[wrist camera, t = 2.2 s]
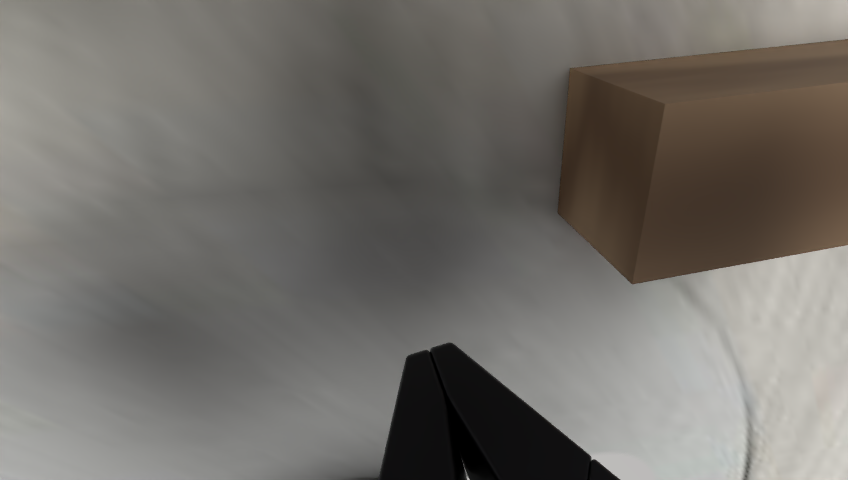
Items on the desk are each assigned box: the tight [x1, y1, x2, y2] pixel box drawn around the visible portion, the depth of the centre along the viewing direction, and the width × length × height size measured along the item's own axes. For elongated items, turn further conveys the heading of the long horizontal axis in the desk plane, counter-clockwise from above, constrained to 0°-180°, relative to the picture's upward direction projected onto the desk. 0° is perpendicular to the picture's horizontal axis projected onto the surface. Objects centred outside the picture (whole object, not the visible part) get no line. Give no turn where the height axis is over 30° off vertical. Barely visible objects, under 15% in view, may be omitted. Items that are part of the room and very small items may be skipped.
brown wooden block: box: [558, 39, 848, 284], centre depth 13 cm, size 4×12×4 cm, turn 93°
